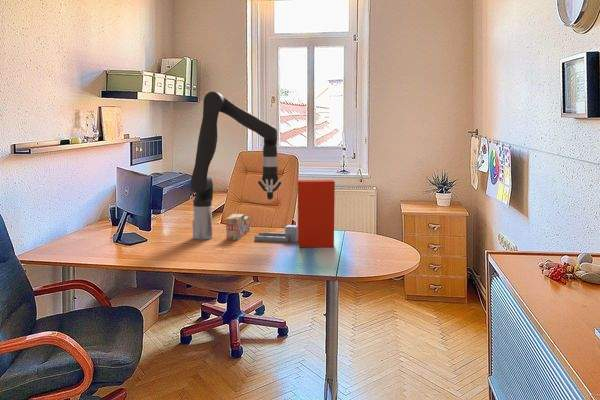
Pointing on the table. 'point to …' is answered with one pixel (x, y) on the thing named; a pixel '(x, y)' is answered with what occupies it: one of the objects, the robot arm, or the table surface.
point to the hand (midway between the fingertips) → (270, 199)
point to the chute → (272, 237)
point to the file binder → (316, 213)
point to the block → (292, 232)
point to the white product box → (237, 226)
